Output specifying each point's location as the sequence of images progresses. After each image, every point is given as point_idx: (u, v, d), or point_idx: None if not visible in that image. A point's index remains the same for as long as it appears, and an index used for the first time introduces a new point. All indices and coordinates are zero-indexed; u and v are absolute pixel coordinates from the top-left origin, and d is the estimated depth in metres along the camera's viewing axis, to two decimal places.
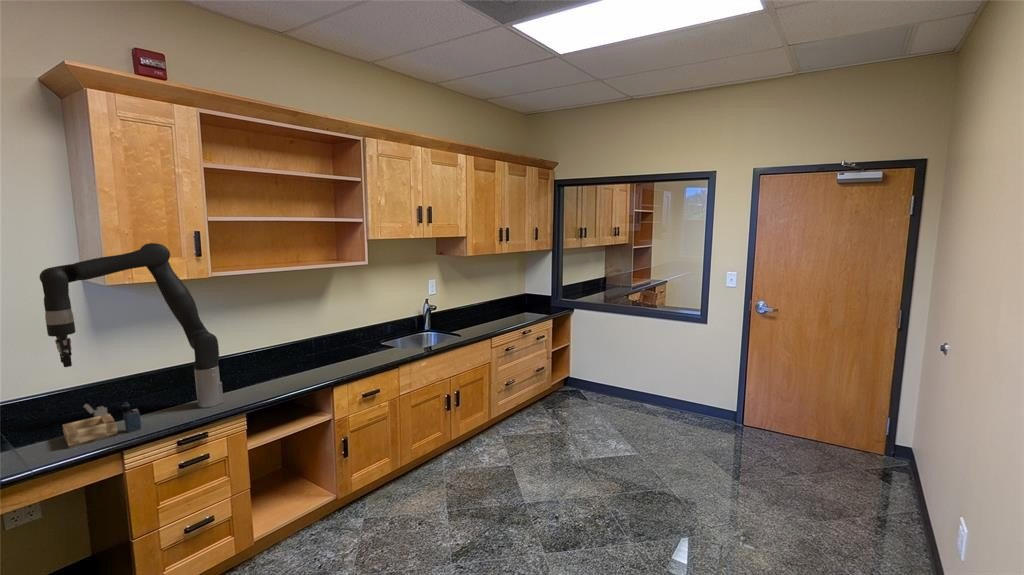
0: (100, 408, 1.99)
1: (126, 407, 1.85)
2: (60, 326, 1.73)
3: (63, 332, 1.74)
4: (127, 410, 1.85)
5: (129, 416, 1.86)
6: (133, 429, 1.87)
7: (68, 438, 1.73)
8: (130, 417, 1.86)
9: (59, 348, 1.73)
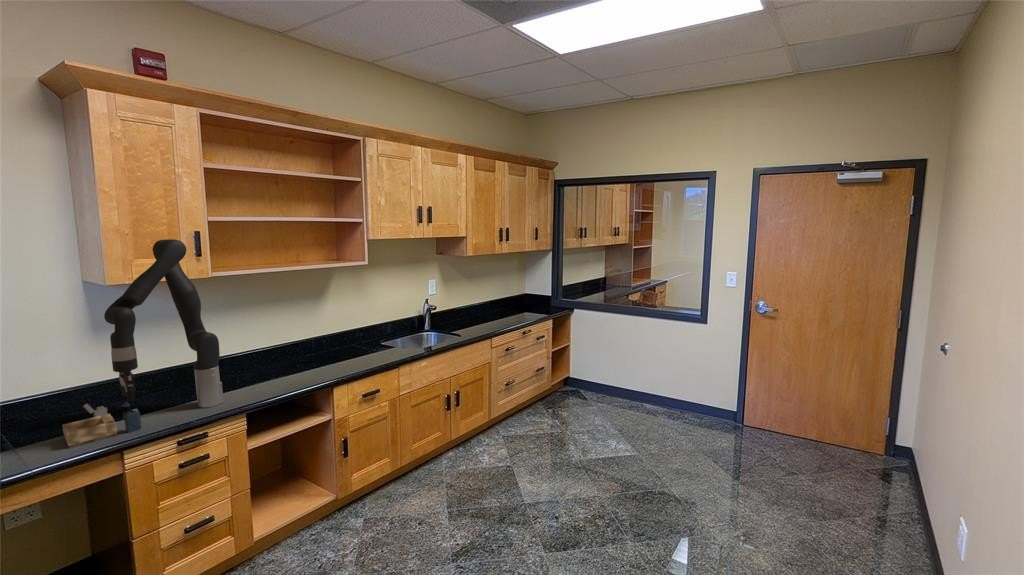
0: (100, 408, 1.99)
1: (126, 407, 1.85)
2: (125, 362, 1.82)
3: (128, 368, 1.82)
4: (127, 410, 1.85)
5: (129, 416, 1.86)
6: (133, 429, 1.87)
7: (68, 438, 1.73)
8: (130, 417, 1.86)
9: (123, 383, 1.82)
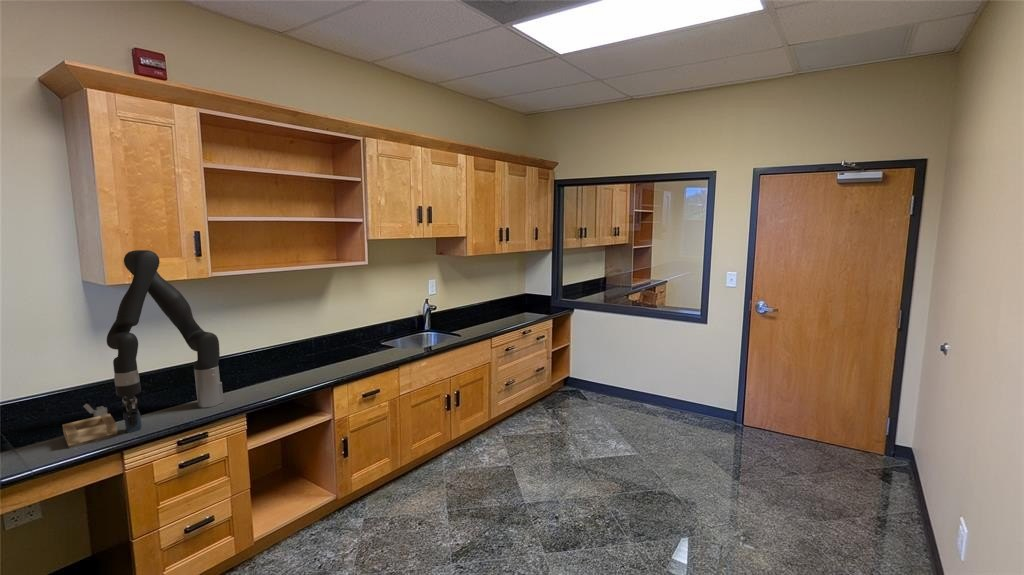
0: (100, 408, 1.99)
1: None
2: (128, 387, 1.83)
3: (131, 393, 1.84)
4: None
5: None
6: (133, 429, 1.87)
7: (68, 438, 1.73)
8: None
9: (127, 409, 1.84)
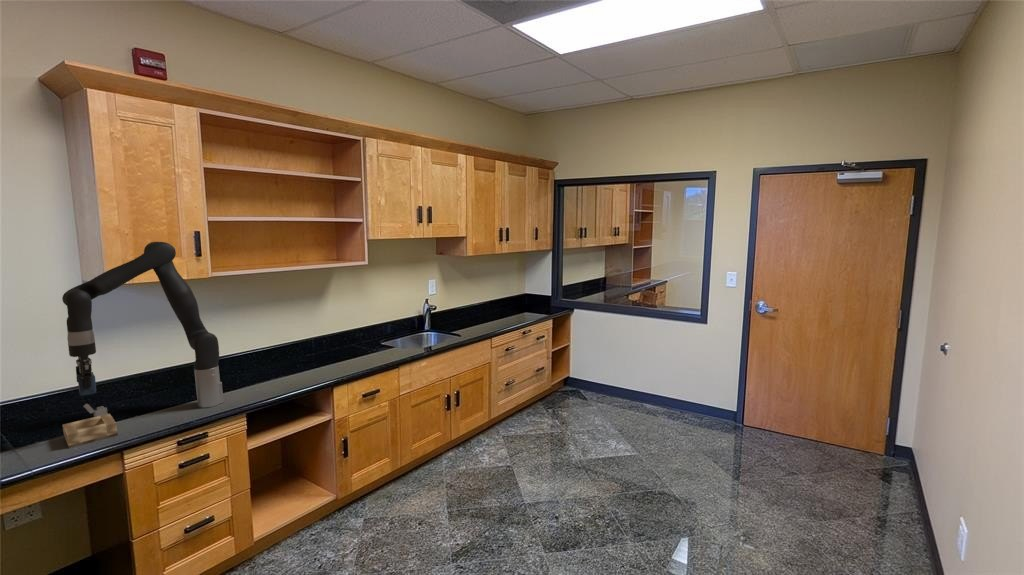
0: (100, 408, 1.99)
1: None
2: (82, 347, 1.76)
3: (85, 353, 1.77)
4: None
5: None
6: (86, 392, 1.79)
7: (68, 438, 1.73)
8: None
9: (80, 370, 1.77)
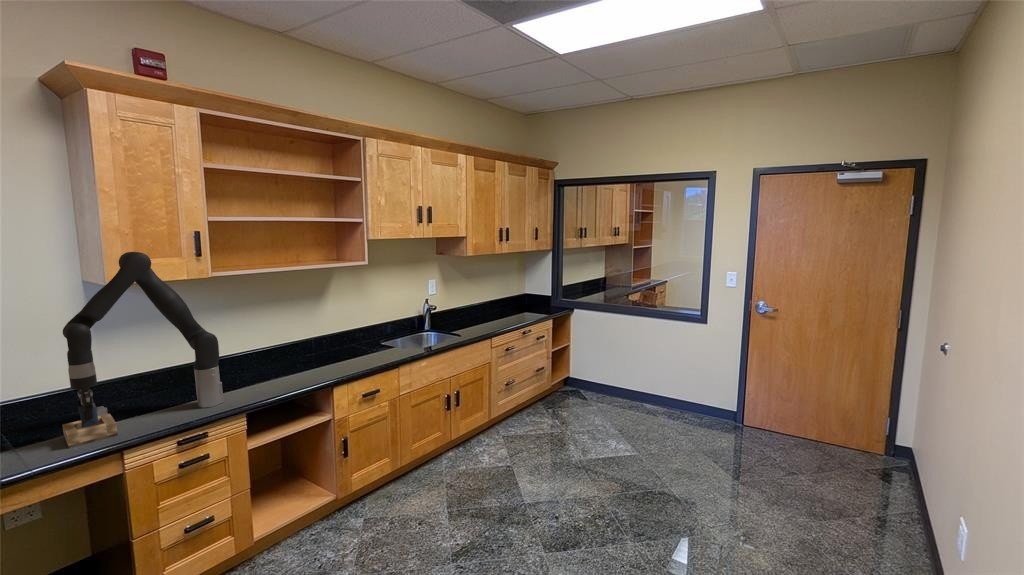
0: (100, 408, 1.99)
1: None
2: (83, 379, 1.77)
3: (86, 385, 1.78)
4: None
5: None
6: (88, 424, 1.81)
7: (68, 438, 1.73)
8: None
9: (81, 402, 1.79)
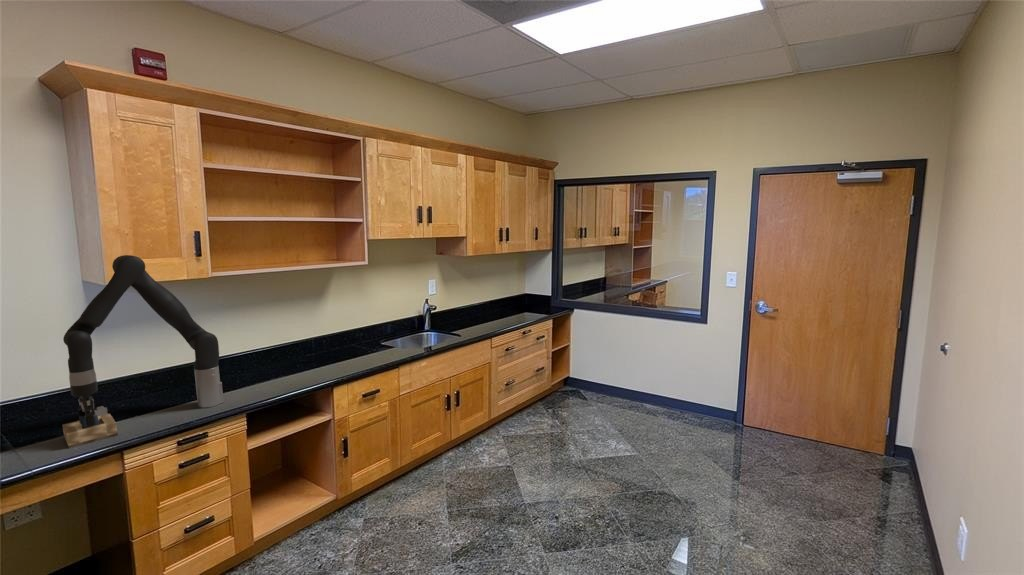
0: (100, 408, 1.99)
1: (81, 410, 1.79)
2: (84, 387, 1.78)
3: (87, 393, 1.79)
4: (83, 413, 1.80)
5: (85, 420, 1.80)
6: None
7: (68, 438, 1.73)
8: None
9: (82, 408, 1.78)
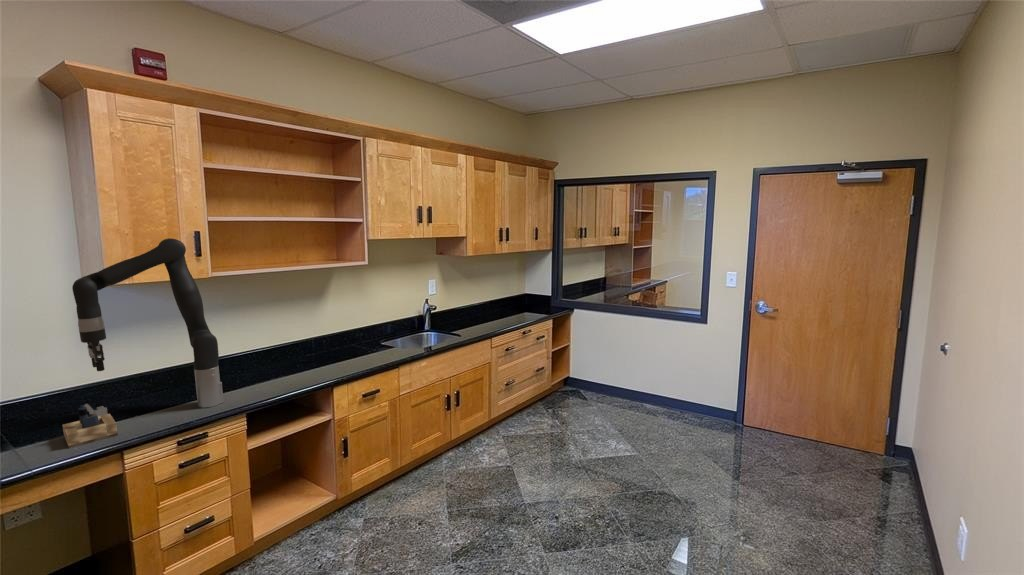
0: (100, 408, 1.99)
1: (82, 410, 1.79)
2: (93, 333, 1.83)
3: (96, 339, 1.84)
4: (83, 413, 1.80)
5: (85, 420, 1.80)
6: None
7: (68, 438, 1.73)
8: (86, 421, 1.81)
9: (92, 353, 1.84)
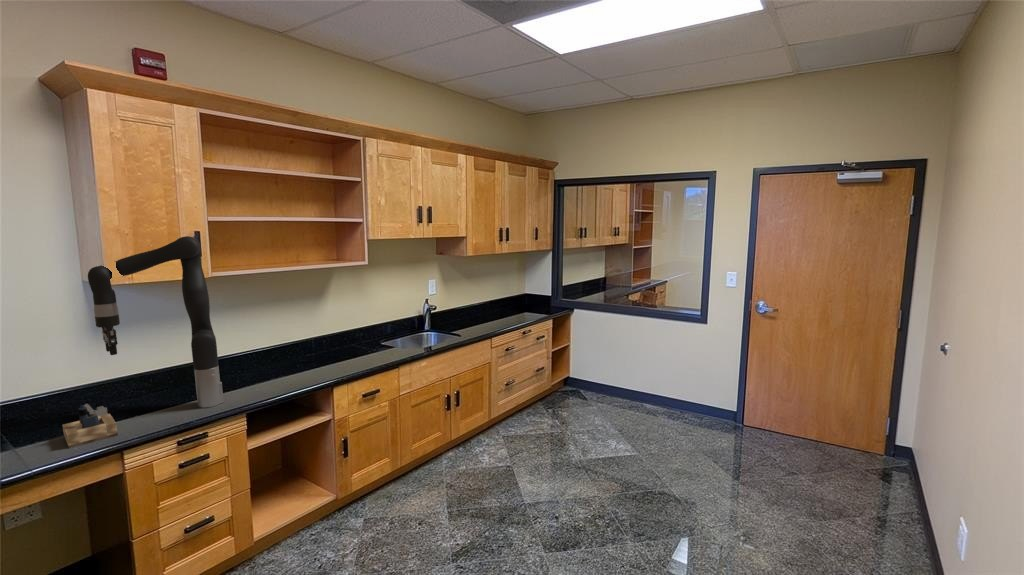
0: (100, 408, 1.99)
1: (82, 410, 1.79)
2: (107, 318, 1.92)
3: (110, 324, 1.93)
4: (83, 413, 1.80)
5: (85, 420, 1.80)
6: None
7: (68, 438, 1.73)
8: (86, 421, 1.81)
9: (106, 338, 1.93)
